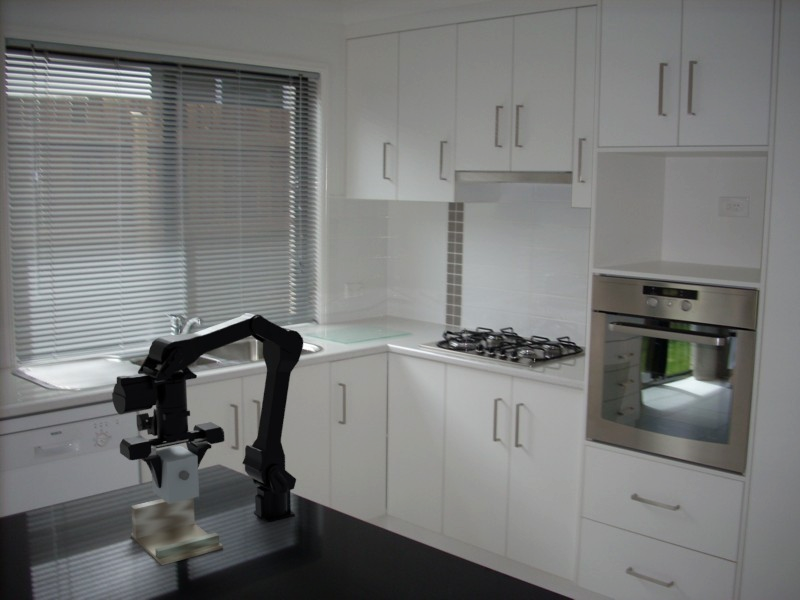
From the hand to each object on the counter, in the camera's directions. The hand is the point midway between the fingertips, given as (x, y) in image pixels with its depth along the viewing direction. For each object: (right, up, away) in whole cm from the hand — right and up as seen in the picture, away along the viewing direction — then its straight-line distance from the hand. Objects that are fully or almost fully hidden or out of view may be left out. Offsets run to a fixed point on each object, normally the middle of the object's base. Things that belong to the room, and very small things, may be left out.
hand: (175, 483), depth 163 cm
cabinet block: (0, -2, 0) cm, 2 cm away
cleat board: (0, -12, +2) cm, 12 cm away
